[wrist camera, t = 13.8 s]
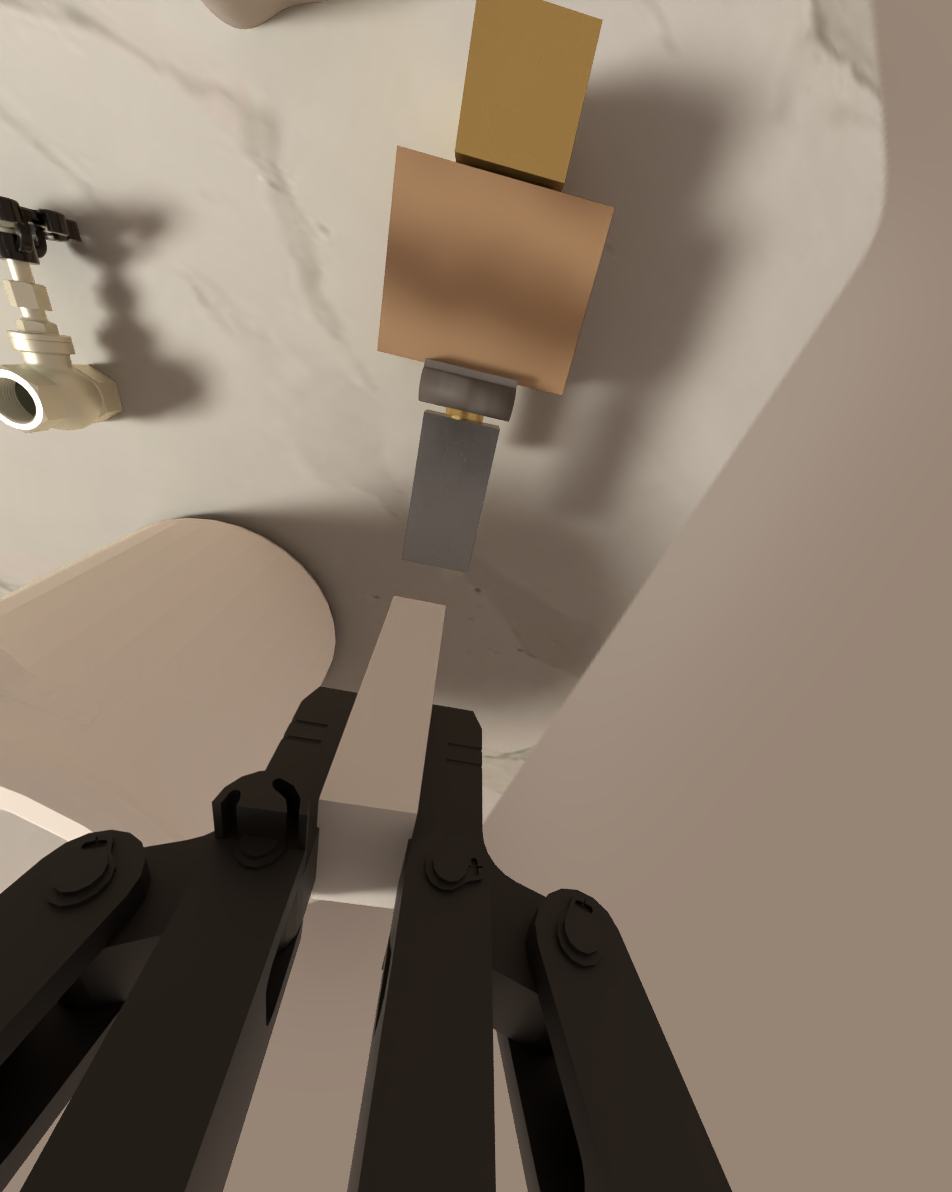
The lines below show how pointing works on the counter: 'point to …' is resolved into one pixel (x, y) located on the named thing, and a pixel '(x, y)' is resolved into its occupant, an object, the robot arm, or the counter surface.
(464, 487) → the lever
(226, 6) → the lumpy-topped squat cylinder
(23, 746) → the bucket
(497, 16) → the pin
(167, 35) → the counter surface
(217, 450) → the counter surface
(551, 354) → the block
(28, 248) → the valve
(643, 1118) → the robot arm
